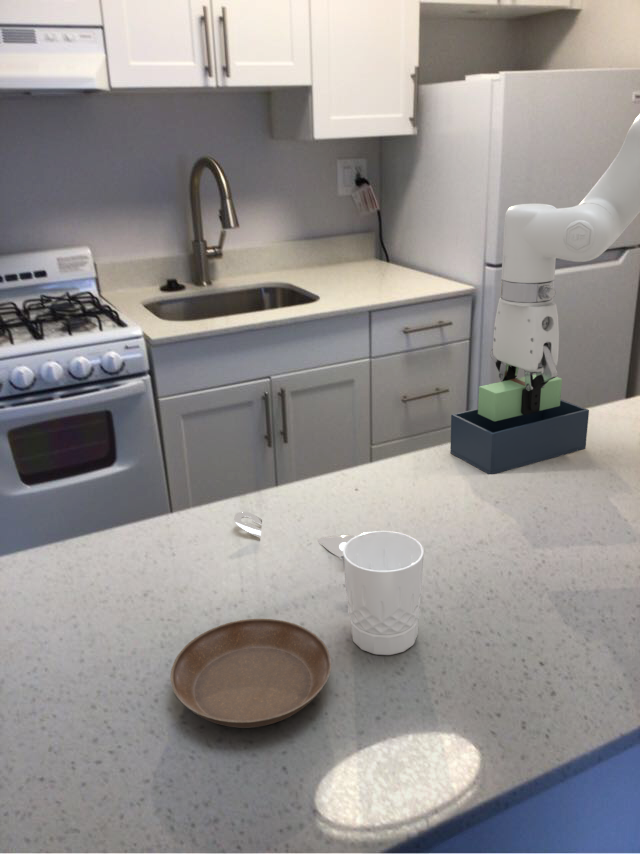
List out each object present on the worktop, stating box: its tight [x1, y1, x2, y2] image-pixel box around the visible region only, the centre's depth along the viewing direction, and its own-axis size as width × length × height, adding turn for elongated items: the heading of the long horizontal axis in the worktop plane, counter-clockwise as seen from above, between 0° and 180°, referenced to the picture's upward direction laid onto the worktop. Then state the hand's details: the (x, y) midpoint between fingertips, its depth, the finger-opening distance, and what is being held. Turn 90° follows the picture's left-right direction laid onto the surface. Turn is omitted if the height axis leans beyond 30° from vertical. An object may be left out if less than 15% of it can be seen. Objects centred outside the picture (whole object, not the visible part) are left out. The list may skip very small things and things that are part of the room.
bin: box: [449, 399, 590, 475], centre depth 119 cm, size 19×10×7 cm, turn 117°
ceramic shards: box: [233, 511, 356, 560], centre depth 95 cm, size 20×4×5 cm
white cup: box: [342, 530, 425, 656], centre depth 76 cm, size 8×8×10 cm
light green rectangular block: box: [477, 373, 563, 422], centre depth 117 cm, size 4×13×5 cm, turn 117°
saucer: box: [169, 618, 332, 729], centre depth 70 cm, size 15×15×3 cm
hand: (519, 407), depth 118 cm, fingers closed on light green rectangular block, 4 cm apart
